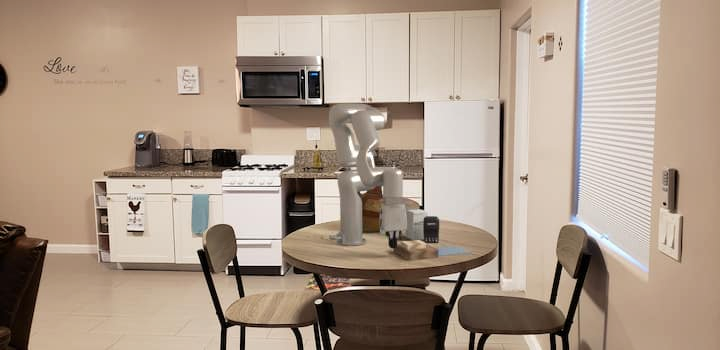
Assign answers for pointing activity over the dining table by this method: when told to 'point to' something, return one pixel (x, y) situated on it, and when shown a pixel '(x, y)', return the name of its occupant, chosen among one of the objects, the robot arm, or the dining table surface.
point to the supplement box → (415, 224)
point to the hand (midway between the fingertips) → (392, 247)
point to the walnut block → (417, 252)
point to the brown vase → (371, 209)
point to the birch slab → (413, 244)
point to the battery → (431, 229)
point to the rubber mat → (451, 250)
